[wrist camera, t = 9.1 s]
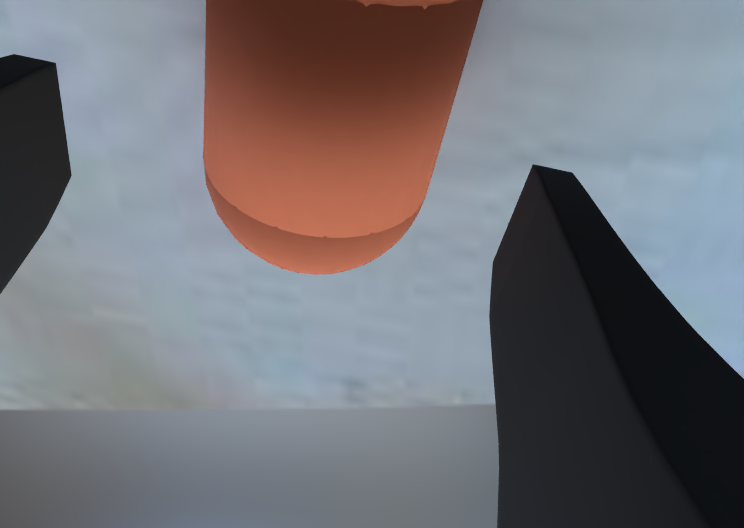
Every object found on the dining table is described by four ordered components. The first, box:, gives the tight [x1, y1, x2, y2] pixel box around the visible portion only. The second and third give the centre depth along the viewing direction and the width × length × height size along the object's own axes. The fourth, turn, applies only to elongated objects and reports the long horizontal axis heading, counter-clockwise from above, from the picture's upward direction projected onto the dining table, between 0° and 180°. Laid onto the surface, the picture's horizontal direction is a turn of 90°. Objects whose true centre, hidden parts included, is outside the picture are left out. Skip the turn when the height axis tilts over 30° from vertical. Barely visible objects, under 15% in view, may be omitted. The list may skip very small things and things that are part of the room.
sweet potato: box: [203, 0, 483, 274], centre depth 14 cm, size 9×5×5 cm, turn 170°
